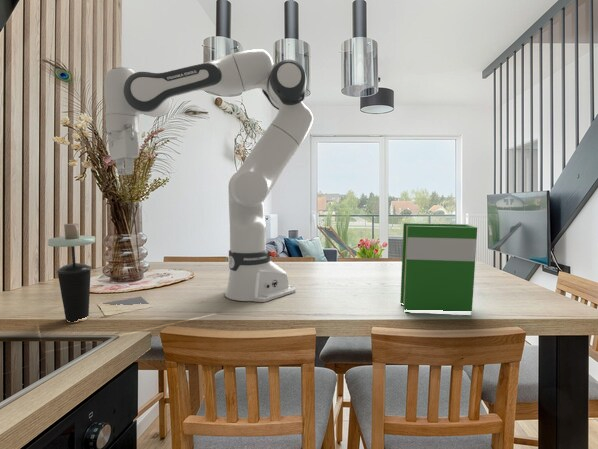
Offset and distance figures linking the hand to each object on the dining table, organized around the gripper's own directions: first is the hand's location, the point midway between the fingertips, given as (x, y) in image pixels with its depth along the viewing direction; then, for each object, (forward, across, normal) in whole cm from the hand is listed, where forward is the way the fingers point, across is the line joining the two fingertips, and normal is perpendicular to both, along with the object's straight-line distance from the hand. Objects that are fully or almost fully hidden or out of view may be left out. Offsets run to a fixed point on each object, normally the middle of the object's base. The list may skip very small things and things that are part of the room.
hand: (124, 174), depth 112 cm
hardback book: (+37, -63, -65) cm, 98 cm away
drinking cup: (+37, -14, +16) cm, 43 cm away
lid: (+17, -14, +16) cm, 27 cm away
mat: (+37, -10, +4) cm, 39 cm away
